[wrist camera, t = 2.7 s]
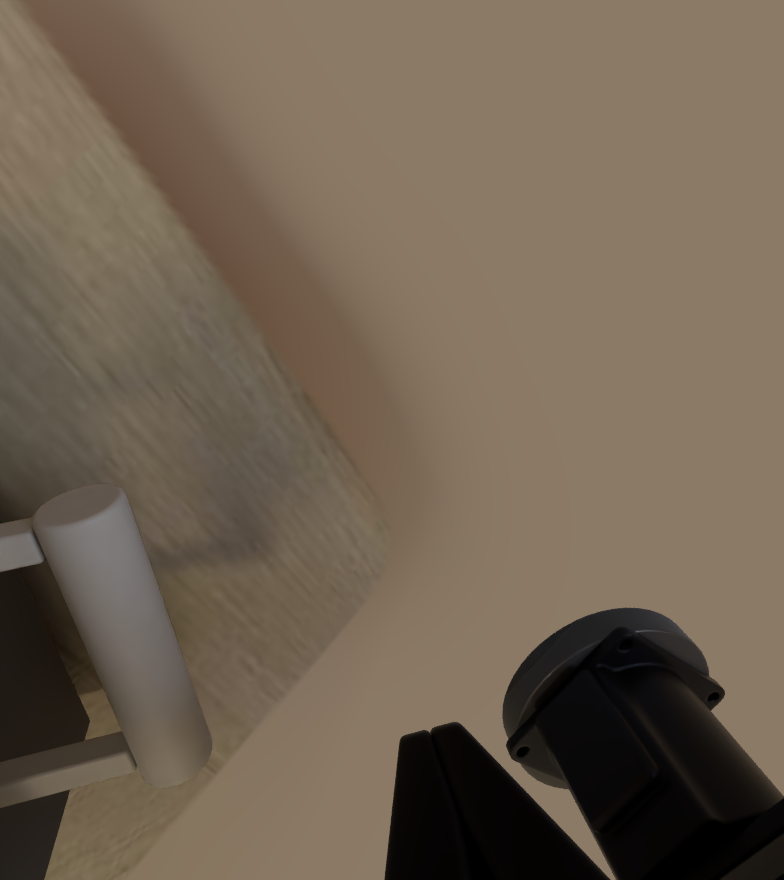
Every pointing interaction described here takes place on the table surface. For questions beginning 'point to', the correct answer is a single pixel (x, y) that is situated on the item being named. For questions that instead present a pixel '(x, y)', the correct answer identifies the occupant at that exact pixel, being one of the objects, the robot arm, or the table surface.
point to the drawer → (114, 658)
